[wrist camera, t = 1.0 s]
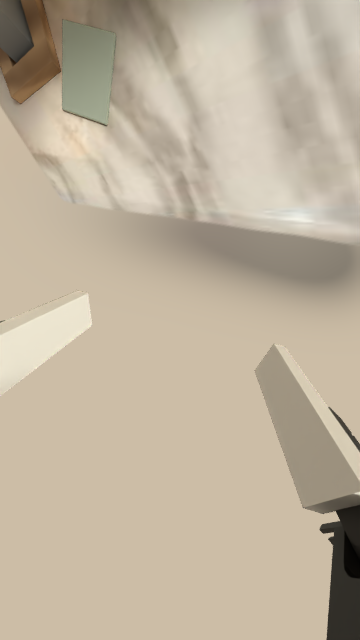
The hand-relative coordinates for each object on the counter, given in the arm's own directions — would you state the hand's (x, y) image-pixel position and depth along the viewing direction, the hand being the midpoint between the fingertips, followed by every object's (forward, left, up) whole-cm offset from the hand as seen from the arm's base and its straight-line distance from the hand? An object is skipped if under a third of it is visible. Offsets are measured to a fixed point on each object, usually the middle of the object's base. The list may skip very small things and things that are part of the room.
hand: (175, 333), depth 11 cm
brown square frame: (-26, -49, -24) cm, 61 cm away
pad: (-24, -35, -24) cm, 49 cm away
